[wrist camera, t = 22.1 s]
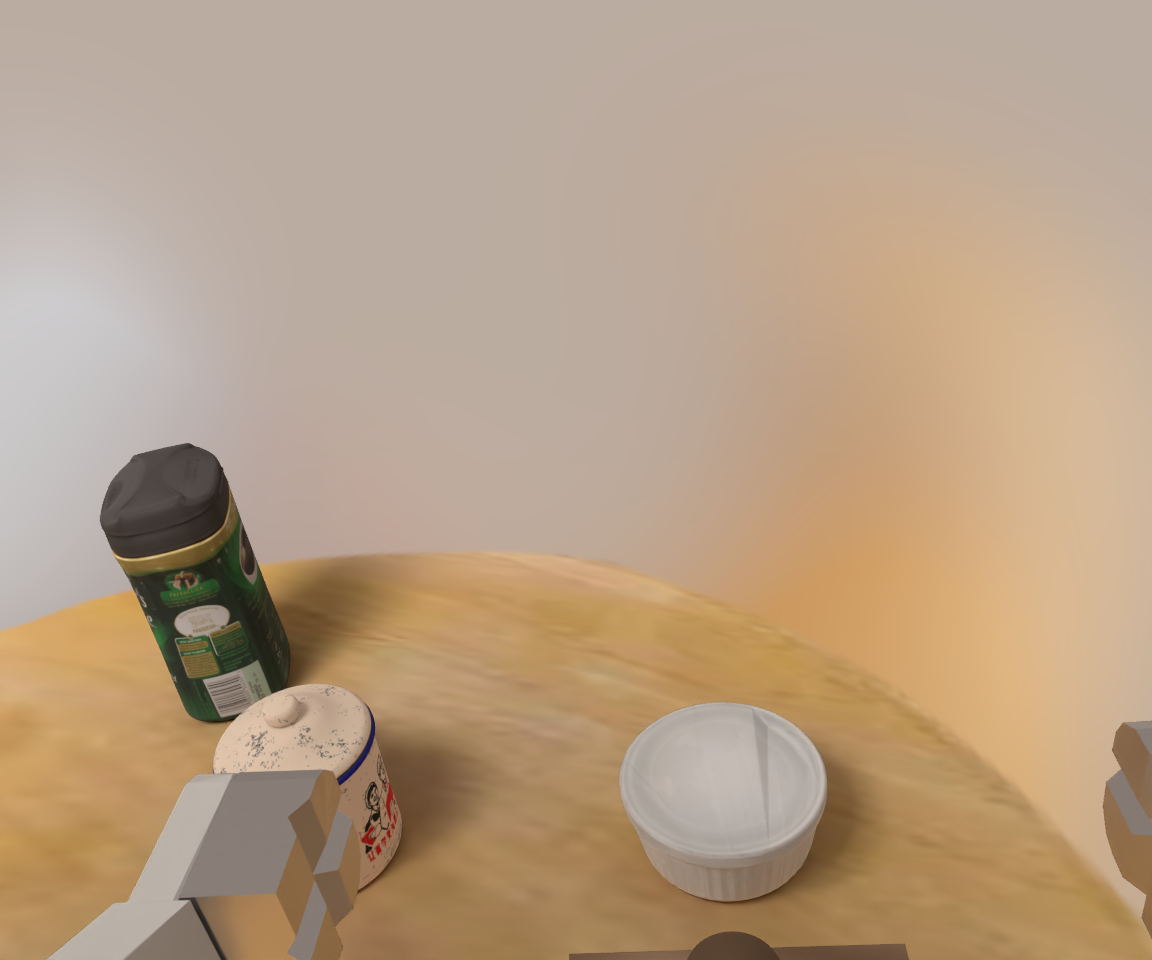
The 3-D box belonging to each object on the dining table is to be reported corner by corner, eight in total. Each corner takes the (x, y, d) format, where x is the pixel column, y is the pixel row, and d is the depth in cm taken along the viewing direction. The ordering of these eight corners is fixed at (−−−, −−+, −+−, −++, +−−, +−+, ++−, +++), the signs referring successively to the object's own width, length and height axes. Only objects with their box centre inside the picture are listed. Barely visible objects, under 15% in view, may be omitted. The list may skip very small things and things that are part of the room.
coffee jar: (191, 655, 80) (102, 450, 70) (292, 628, 81) (218, 423, 72) (180, 740, 72) (78, 521, 62) (293, 709, 73) (210, 490, 63)
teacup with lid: (412, 887, 59) (362, 741, 53) (252, 929, 58) (183, 785, 52) (401, 740, 69) (359, 604, 63) (266, 773, 68) (209, 638, 62)
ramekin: (870, 858, 56) (871, 792, 54) (700, 960, 52) (692, 894, 50) (748, 735, 65) (744, 673, 62) (595, 815, 61) (584, 753, 59)
